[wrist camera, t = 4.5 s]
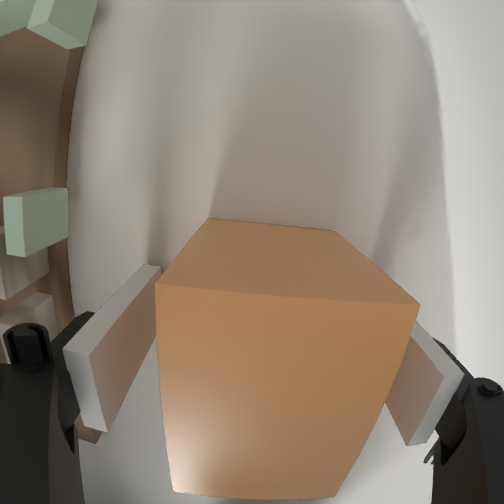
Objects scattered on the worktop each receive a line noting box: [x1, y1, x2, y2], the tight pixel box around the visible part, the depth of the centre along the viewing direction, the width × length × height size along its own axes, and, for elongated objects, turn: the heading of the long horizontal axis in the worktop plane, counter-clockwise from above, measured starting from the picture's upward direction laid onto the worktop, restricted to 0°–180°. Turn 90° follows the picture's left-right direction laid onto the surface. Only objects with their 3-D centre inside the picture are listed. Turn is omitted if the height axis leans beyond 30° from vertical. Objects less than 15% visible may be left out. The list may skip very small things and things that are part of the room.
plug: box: [155, 218, 420, 500], centre depth 11 cm, size 14×5×7 cm, turn 174°
